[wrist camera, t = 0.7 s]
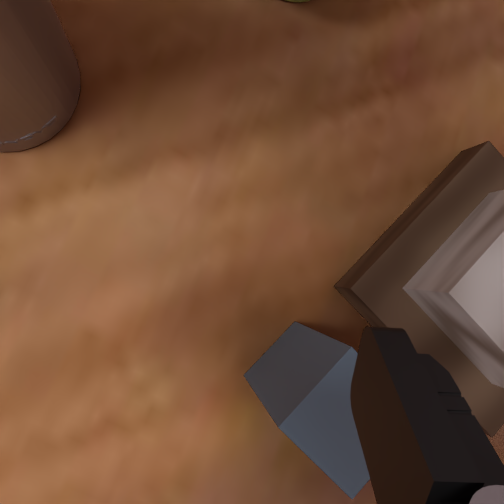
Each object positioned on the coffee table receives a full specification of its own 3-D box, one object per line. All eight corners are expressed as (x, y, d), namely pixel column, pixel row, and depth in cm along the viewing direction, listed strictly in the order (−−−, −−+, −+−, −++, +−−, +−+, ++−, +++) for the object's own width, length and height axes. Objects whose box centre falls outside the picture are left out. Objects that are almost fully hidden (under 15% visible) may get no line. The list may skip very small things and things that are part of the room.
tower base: (333, 286, 32) (387, 293, 24) (461, 151, 34) (549, 117, 26) (463, 422, 33) (554, 470, 25) (578, 285, 35) (695, 290, 28)
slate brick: (243, 375, 31) (278, 427, 21) (294, 321, 31) (351, 346, 22) (294, 425, 31) (352, 499, 21) (344, 371, 32) (421, 418, 22)
